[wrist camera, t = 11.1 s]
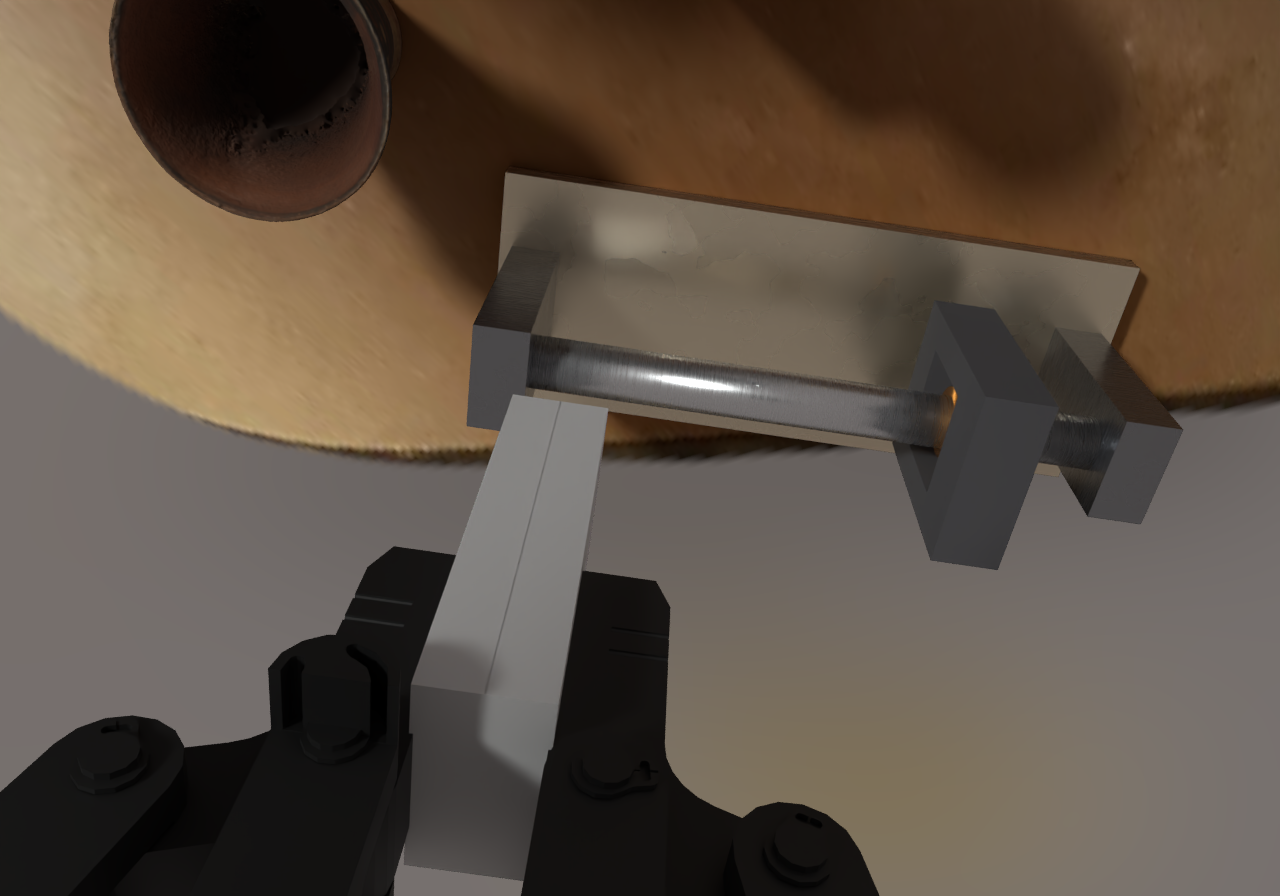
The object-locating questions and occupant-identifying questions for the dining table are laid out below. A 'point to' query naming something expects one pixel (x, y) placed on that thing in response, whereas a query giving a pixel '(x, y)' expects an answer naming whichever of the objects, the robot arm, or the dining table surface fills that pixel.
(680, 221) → the rail
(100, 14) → the dining table surface
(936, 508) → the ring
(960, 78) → the dining table surface
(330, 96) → the cup
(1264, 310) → the dining table surface
